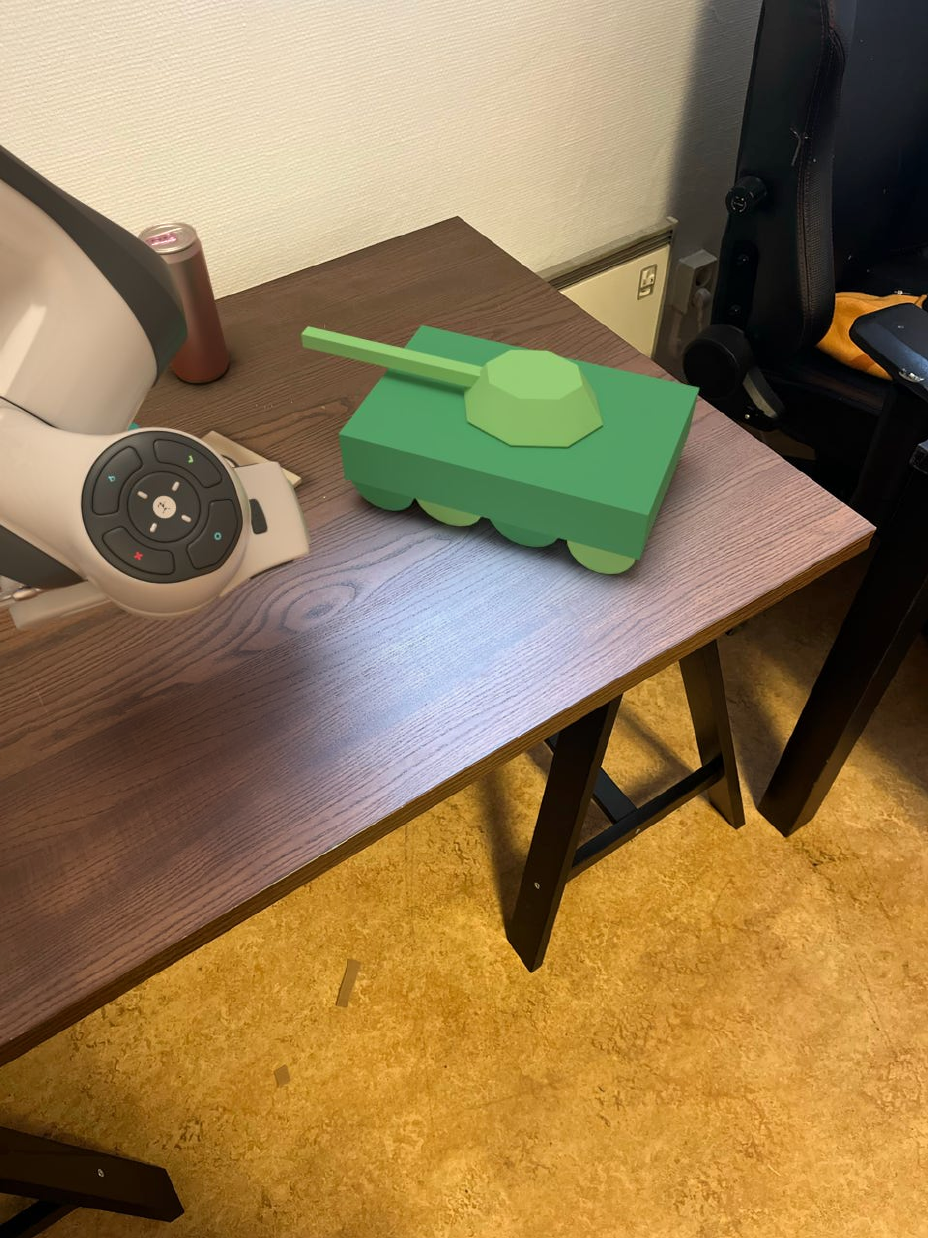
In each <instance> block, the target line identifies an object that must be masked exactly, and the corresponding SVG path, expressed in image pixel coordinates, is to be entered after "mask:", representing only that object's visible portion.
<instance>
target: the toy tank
mask: <svg viewBox="0 0 928 1238" xmlns="http://www.w3.org/2000/svg"><path fill="white" fill-rule="evenodd" d="M300 336H301V337H300V338H301V342H302V347H303V348H305V349H310V350H314V351H318V352H322V353H327V354H329V355H330V354H331V355H334V356H335V355H336V356H340V357H343V358H348V359H351V360H356V361H360V362H363V363H367V364H372V365H376V366H380V367H385V368H387V370H386V371H385V373H384V374H383V375H382V376H381V378H380V379H379V380H378V381H377V383H376V384H375V386H374V387H373V388H372V389H371V391H369V393H368V395H367V396H366V397H365V398H364V400H363V402H361V404H360V405H359V406H358V408H357V409H356V410H355V411H354V413H353V415H352V416H351V417H350V418H349V420H348V421H347V422H346V423H345V425H344V426H343V427H342V429H341V430H340V431H339V432H338V439H339V447H340V453H341V461H342V469H343V475H344V480H347V481H351V484H352V485H353V486H354V488H355V490H356V491H357V492H358V494H360V496H362V497H363V499H364V500H366V501H368V502H370V503H371V504H372V505H374V506H376V507H378V508H381V509H383V510H387V511H392V512H394V511H395V512H397V511H402V510H403V511H404V510H405V509H408V507H410V506H411V504H412V503H413V501H414V500H416V501H417V503H418V505H419V507H421V508H422V509H423V510H424V511H425V512H426V513H427V514H428V515H430V516H431V517H433V519H436V520H437V521H439V522H441V523H444V524H446V525H449V526H456V527H466V526H471V525H473V524H475V523H477V522H478V521H480V519H481V518H485V519H489V520H490V522H491V524H492V525H493V527H494V528H495V529H496V530H497V531H498V532H499V533H500V534H501V535H502V536H503V537H505V538H507V539H508V540H510V541H511V542H514V543H516V544H519V545H521V546H525V547H529V548H540V547H541V548H542V547H546V546H549V545H552V544H554V543H555V542H556V541H557V540H558V539H561V540H563V541H564V540H565V541H566V542H567V544H566V545H567V547H568V549H569V551H570V554H571V555H572V556H573V558H575V559H576V561H577V562H578V563H579V564H581V565H582V566H584V567H585V568H587V569H589V570H592V571H594V572H596V573H599V574H606V575H613V574H614V575H615V574H621V573H623V572H625V571H627V570H629V569H630V568H631V567H632V566H633V565H634V564H635V562H636V560H637V561H641V557H642V555H643V552H644V550H645V547H646V545H647V542H648V539H649V538H650V534H651V532H652V529H653V527H654V525H655V522H656V520H657V516H658V514H659V511H660V510H661V506H662V504H663V501H664V499H665V496H666V494H667V491H668V489H669V486H670V483H671V481H672V479H673V476H674V474H675V471H676V469H677V467H678V463H679V461H680V458H681V455H682V453H683V450H684V448H685V446H686V443H687V440H688V437H689V435H690V431H691V428H692V424H693V423H692V422H693V419H694V414H695V409H696V405H697V402H698V397H699V392H700V387H699V386H698V387H697V386H693V385H689V384H684V383H679V382H675V381H671V380H667V379H662V378H657V377H654V376H650V375H646V374H645V375H644V374H640V373H636V372H631V371H626V370H623V369H617V368H614V367H609V366H604V365H600V364H596V363H593V362H592V363H591V362H587V361H583V360H579V359H573V358H570V357H565V356H561V355H558V354H556V353H554V352H551V351H549V350H537V349H530V348H525V347H521V346H516V345H511V344H507V343H503V342H500V341H499V342H498V341H494V340H489V339H486V338H481V337H476V336H472V335H469V334H468V335H467V334H463V333H459V332H455V331H450V330H446V329H445V330H444V329H442V328H436V327H432V326H428V325H423V324H421V325H420V326H419V328H418V330H416V332H415V333H414V335H413V336H412V337H411V338H410V339H409V341H408V342H407V343H406V345H405V346H404V347H399V346H394V345H391V344H386V343H382V342H377V341H375V340H374V341H373V340H369V339H364V338H361V337H356V336H352V335H347V334H344V333H339V332H335V331H331V330H326V329H322V328H318V327H313V326H309V325H308V326H307V327H306V328H305V329H304V330H303V331H302V332H301V334H300Z"/></svg>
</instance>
